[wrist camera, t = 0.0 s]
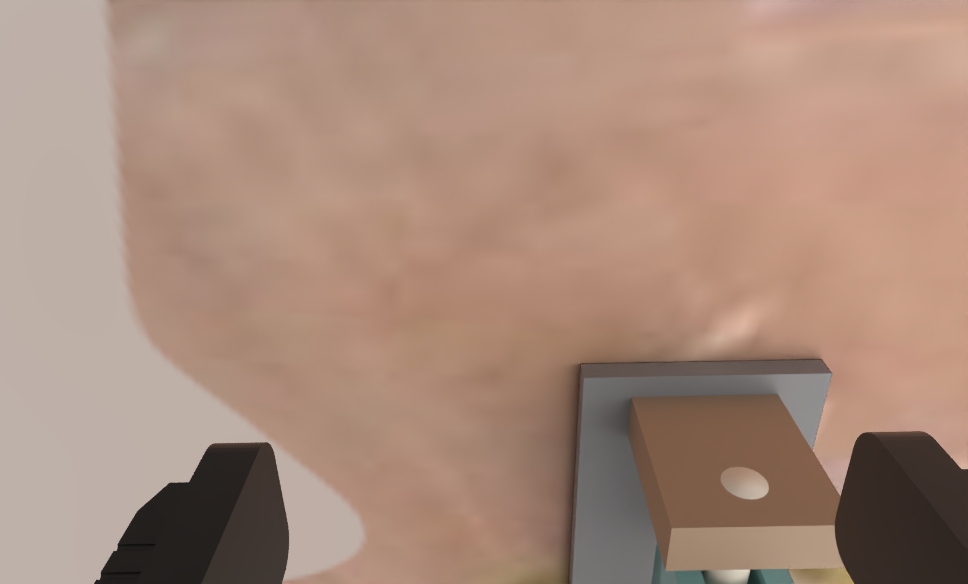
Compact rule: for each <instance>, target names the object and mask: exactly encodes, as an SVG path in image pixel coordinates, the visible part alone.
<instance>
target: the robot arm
mask: <svg viewBox="0 0 968 584" xmlns="http://www.w3.org/2000/svg"><path fill="white" fill-rule="evenodd" d="M835 538H836V544H837V548H838V552H839V555H840V558H841V560H842V562H843V564H844V566H845V568H846V570H847V572H848V573H849V575H850V577H851V579H852V580H853V582H854V584H968V469H961V468H960V467H959V466H958V465H957V464H956V463H955V461H954V460H953V459H952V458H951V457H950V456H949V455H948V454H947V453H946V451H945V450H944V449H943V448H942V447H941V446H940V445H939V444H938V443H937V441H936V440H935V439H934V438H933V437H932V436H930V435H929V434H927V433H925V432H920V431H912V432H866V433H863V434H861V435H860V436H859V437H858V438H857V440H856V442H855V445H854V448H853V452H852V456H851V459H850V463H849V467H848V471H847V475H846V478H845V482H844V486H843V490H842V494H841V497H840V501H839V505H838V509H837V513H836V517H835ZM288 550H289V530H288V522H287V518H286V512H285V507H284V502H283V497H282V491H281V486H280V481H279V476H278V471H277V465H276V460H275V455H274V451H273V449H272V447H271V445H270V444H269V443H267V442H265V443H217V444H216V443H215V444H212V445H210V446H209V447H208V449H207V450H206V452H205V454H204V455H203V457H202V459H201V461H200V463H199V465H198V467H197V469H196V470H195V472H194V475H193V476H192V478H191V480H190V482H188V483H187V482H186V483H169V484H168V485H167V486H166V487H164V488H163V489H162V490H161V491H160V492H159V493H158V494H157V495H155V496H154V497H153V498H152V499H151V500H150V501H148V502H147V503H146V504H145V505H144V506H143V507H142V508H140V509H139V510H138V511H137V513H136V514H135V516H134V518H133V519H132V521H131V523H130V524H129V526H128V528H127V529H126V531H125V533H124V535H123V536H122V538H121V539H120V541H119V543H118V549H117V551H113V553H112V555H111V556H110V558H109V560H108V561H107V563H106V565H105V566H104V568H103V570H102V571H101V578H100V580H96V581H95V583H94V584H282V581H283V577H284V574H285V570H286V565H287V559H288Z"/></svg>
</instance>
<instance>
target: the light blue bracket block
mask: <svg viewBox="0 0 968 584" xmlns="http://www.w3.org/2000/svg"><path fill="white" fill-rule="evenodd" d="M651 584H705V581H704V578H703V570H691V571H665V567H664V564H663V560H662V557H661V553H660V549H659V546H658V542H657V544H656V552H655V559H654V566H653V574H652V581H651ZM747 584H794V582H793V580H792V578H791V576H790V573H789V571H788V569H750V574H749V578H748V582H747Z"/></svg>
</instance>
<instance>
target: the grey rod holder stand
mask: <svg viewBox="0 0 968 584" xmlns="http://www.w3.org/2000/svg"><path fill="white" fill-rule="evenodd" d="M831 377H832V372H831V371H830V370H829V368H828V367H827V366H826V364H825V363H824V362H823V360H822V359H818V360H765V361H711V362H658V363H605V364H581V371H580V389H579V407H578V426H577V444H576V463H575V481H574V499H573V518H572V536H571V555H570V573H569V584H651V581H652V574H653V566H654V559H655V552H656V544H657V542H658V546H659V549H660V553H661V557H662V560H663V564H664V567H665V571H691V570H703V578H704V581H705V584H747V582H748V578H749V574H750V569H807V568H844V564H843V562H842V560H841V558H840V555H839V552H838V548H837V544H836V538H835V517H836V513H837V509H838V505H839V501H840V495H839V494H838V492H837V490H836V489H835V487H834V485H833V484H832V482H831V480H830V479H829V477H828V476H827V474H826V472H825V471H824V469H823V467H822V466H821V464H820V462H819V461H818V459H817V457H816V456H815V454H814V452H813V451H812V450H813V446H814V442H815V439H816V435H817V431H818V427H819V423H820V419H821V415H822V411H823V408H824V404H825V400H826V396H827V392H828V388H829V384H830V381H831Z"/></svg>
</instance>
